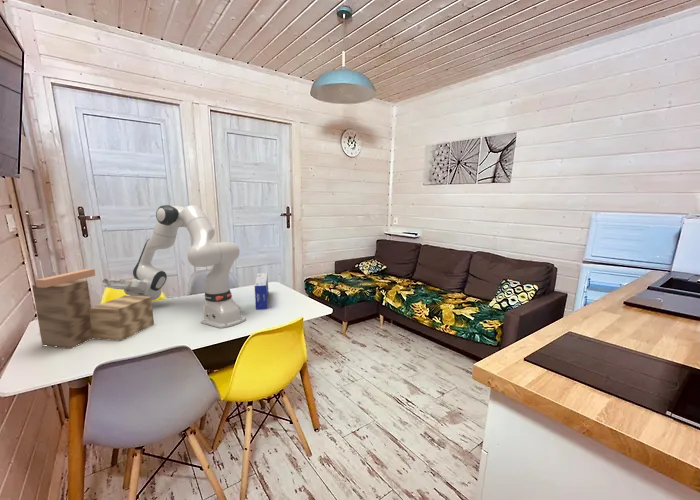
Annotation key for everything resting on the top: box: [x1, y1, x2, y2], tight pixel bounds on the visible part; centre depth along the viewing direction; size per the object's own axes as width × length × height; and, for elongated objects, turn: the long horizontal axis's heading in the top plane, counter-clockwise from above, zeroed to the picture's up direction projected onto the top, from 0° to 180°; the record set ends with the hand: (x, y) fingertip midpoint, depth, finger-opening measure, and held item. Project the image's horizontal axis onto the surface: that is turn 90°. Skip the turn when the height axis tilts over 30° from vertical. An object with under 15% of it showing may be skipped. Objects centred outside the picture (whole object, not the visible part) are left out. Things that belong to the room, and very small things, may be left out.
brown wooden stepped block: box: [31, 279, 155, 349], centre depth 133 cm, size 27×28×26 cm
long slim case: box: [35, 268, 96, 288], centre depth 127 cm, size 20×4×3 cm, turn 172°
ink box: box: [254, 272, 269, 311], centre depth 181 cm, size 30×7×14 cm, turn 14°
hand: (111, 280), depth 147 cm, fingers open, 8 cm apart
